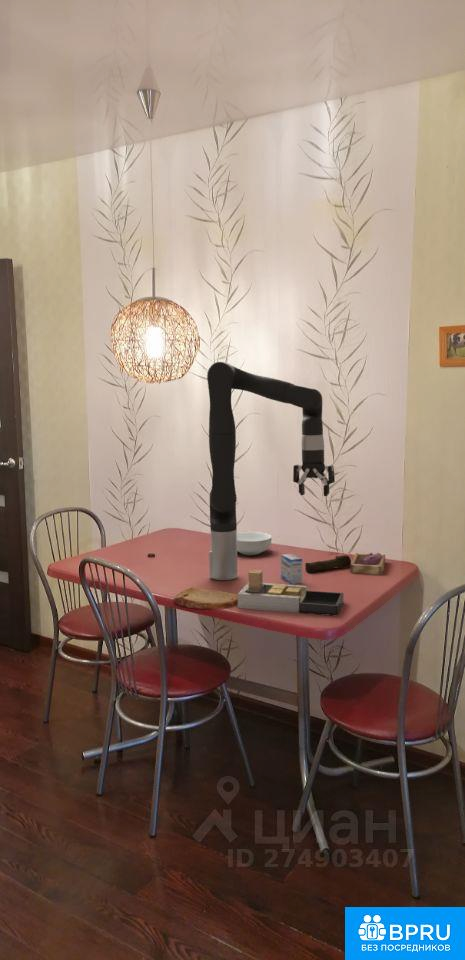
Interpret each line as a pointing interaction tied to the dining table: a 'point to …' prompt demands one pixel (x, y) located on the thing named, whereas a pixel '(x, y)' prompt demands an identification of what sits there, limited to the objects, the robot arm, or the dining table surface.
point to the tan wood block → (276, 591)
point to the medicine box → (291, 568)
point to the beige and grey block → (256, 582)
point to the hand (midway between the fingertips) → (314, 495)
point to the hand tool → (328, 564)
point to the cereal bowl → (253, 542)
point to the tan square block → (293, 592)
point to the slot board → (292, 601)
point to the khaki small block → (280, 587)
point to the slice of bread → (205, 599)
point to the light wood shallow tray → (366, 568)
